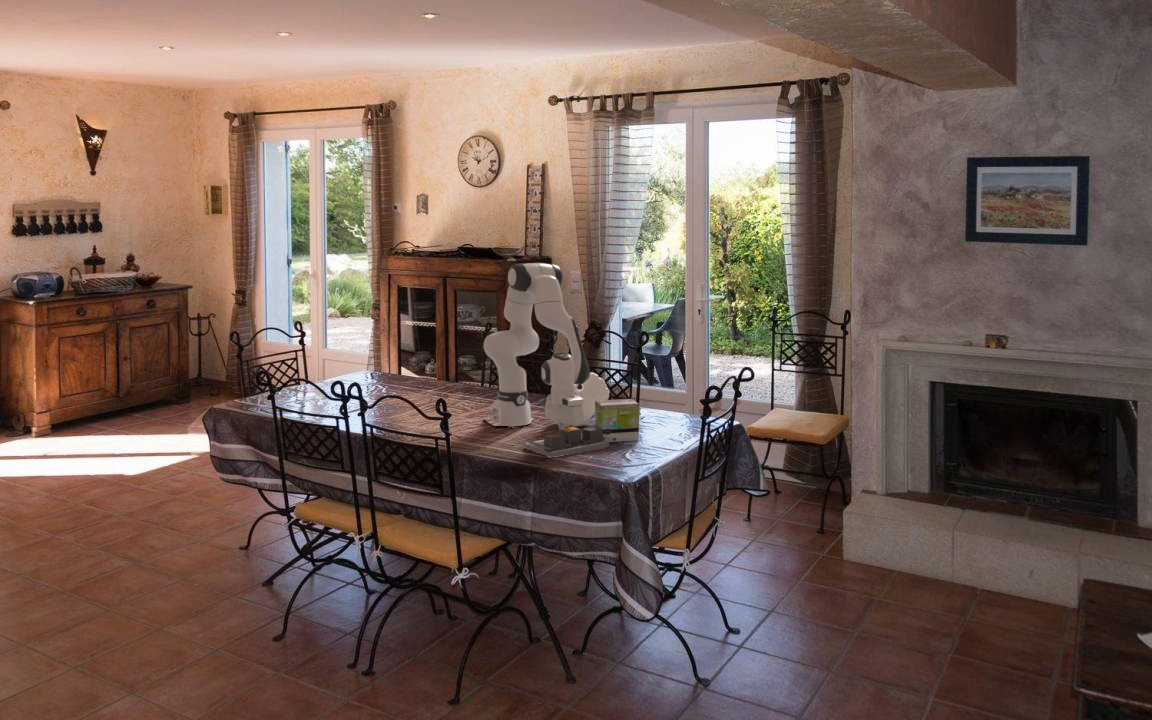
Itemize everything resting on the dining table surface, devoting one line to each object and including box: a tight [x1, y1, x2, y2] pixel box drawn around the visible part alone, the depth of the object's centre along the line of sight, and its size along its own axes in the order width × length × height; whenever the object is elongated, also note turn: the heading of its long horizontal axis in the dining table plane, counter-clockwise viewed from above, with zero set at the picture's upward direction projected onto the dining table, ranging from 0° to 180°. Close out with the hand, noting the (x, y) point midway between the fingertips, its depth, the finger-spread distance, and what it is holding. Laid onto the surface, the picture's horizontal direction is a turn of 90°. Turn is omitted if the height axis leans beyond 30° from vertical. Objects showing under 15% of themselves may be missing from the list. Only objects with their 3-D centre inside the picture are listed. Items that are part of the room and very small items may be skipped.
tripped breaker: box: [559, 426, 587, 448], centre depth 367 cm, size 9×9×6 cm
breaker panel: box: [523, 425, 610, 457], centre depth 370 cm, size 18×26×7 cm
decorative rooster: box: [552, 371, 610, 427], centre depth 405 cm, size 25×16×25 cm, turn 95°
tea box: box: [594, 398, 640, 443], centre depth 381 cm, size 15×10×15 cm, turn 105°
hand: (563, 434), depth 371 cm, fingers closed
